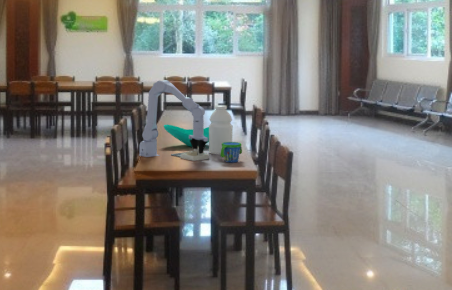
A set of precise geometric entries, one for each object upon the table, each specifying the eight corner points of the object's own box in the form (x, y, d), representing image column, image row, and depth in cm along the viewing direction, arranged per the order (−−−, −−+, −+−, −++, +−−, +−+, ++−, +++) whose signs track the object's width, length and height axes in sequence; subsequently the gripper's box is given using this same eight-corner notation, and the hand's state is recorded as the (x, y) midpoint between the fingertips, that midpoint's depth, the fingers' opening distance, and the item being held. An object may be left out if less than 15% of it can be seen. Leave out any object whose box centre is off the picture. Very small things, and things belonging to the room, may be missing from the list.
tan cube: (196, 154, 375) (196, 147, 375) (192, 153, 378) (192, 146, 378) (201, 153, 378) (202, 147, 377) (197, 153, 381) (197, 146, 380)
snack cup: (227, 164, 347) (227, 145, 346) (214, 161, 355) (214, 143, 354) (248, 161, 358) (248, 143, 357) (234, 158, 366) (235, 140, 364)
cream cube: (191, 159, 358) (191, 152, 358) (186, 158, 361) (186, 151, 361) (196, 158, 361) (196, 151, 360) (192, 157, 364) (192, 150, 363)
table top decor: (164, 149, 395) (164, 128, 393) (162, 143, 422) (162, 122, 420) (229, 149, 400) (229, 127, 398) (223, 142, 427) (224, 122, 425)
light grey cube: (197, 156, 361) (198, 149, 361) (193, 155, 364) (193, 148, 364) (203, 156, 364) (203, 149, 363) (198, 155, 367) (199, 148, 366)
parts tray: (181, 158, 365) (181, 156, 364) (170, 156, 372) (170, 154, 372) (206, 155, 377) (206, 153, 376) (195, 153, 384) (195, 151, 384)
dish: (193, 161, 355) (193, 156, 354) (180, 159, 363) (180, 153, 363) (209, 159, 362) (209, 154, 362) (196, 156, 370) (196, 151, 370)
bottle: (233, 155, 378) (233, 107, 374) (209, 155, 377) (209, 106, 373) (231, 151, 392) (231, 104, 388) (208, 151, 391) (208, 104, 387)
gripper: (212, 129, 359) (212, 153, 361) (195, 126, 370) (195, 150, 372) (202, 130, 354) (202, 155, 356) (185, 127, 365) (185, 151, 367)
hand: (198, 152), depth 364 cm, fingers open, 4 cm apart
